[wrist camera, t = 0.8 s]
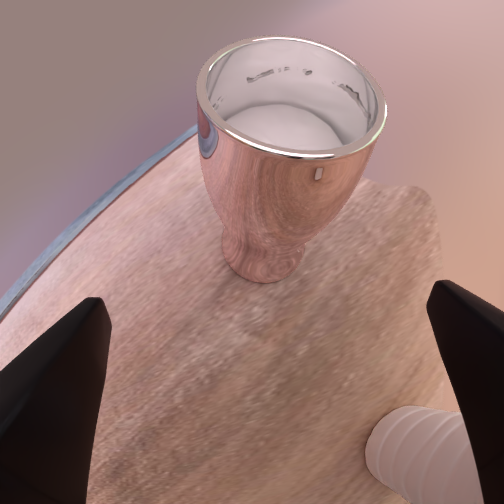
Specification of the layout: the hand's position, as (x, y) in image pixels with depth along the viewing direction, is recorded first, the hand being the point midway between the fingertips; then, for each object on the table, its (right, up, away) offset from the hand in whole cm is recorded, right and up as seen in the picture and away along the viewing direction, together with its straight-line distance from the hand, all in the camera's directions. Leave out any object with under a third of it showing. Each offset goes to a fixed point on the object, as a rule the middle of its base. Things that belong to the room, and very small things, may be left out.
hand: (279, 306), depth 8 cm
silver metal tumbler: (0, +2, +16) cm, 16 cm away
